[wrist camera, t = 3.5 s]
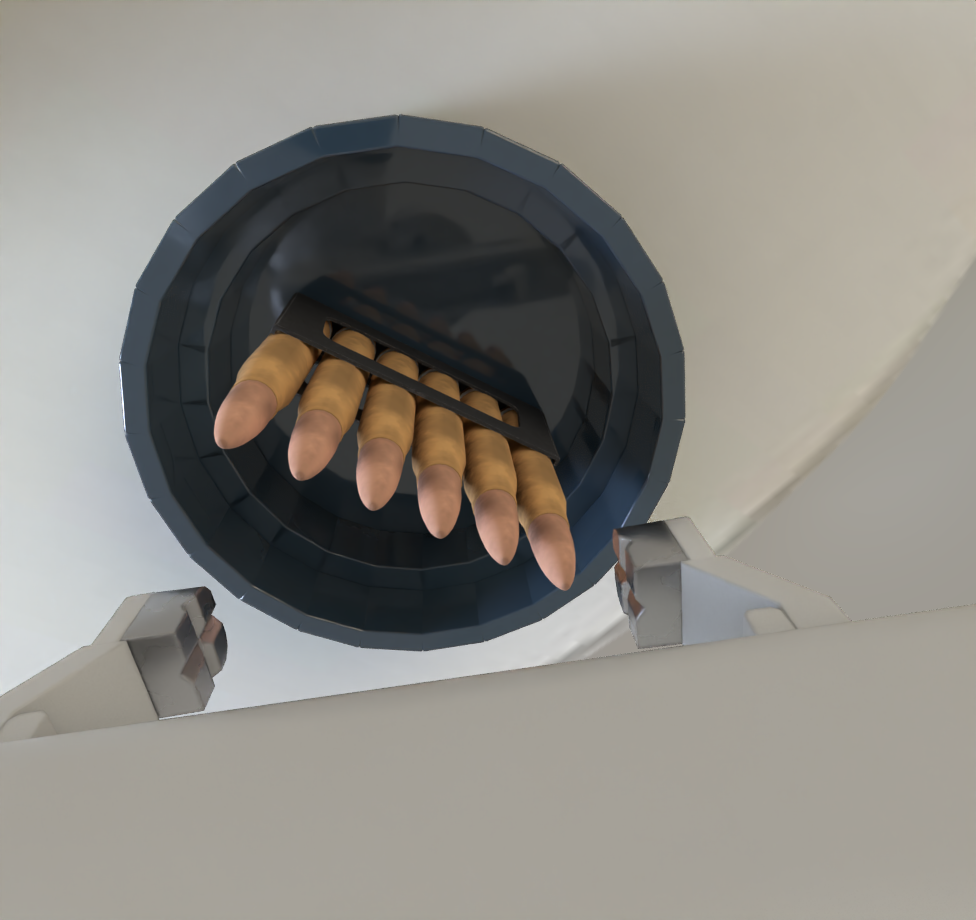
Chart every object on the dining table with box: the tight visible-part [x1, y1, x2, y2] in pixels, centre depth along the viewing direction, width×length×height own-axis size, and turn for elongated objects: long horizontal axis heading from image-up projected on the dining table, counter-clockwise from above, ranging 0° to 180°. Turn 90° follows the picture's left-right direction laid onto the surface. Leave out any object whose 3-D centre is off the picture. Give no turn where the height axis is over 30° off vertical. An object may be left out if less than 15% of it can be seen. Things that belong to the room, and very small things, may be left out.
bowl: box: [119, 114, 685, 651], centre depth 25 cm, size 18×18×6 cm
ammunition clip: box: [214, 292, 576, 591], centre depth 22 cm, size 11×2×12 cm, turn 62°
